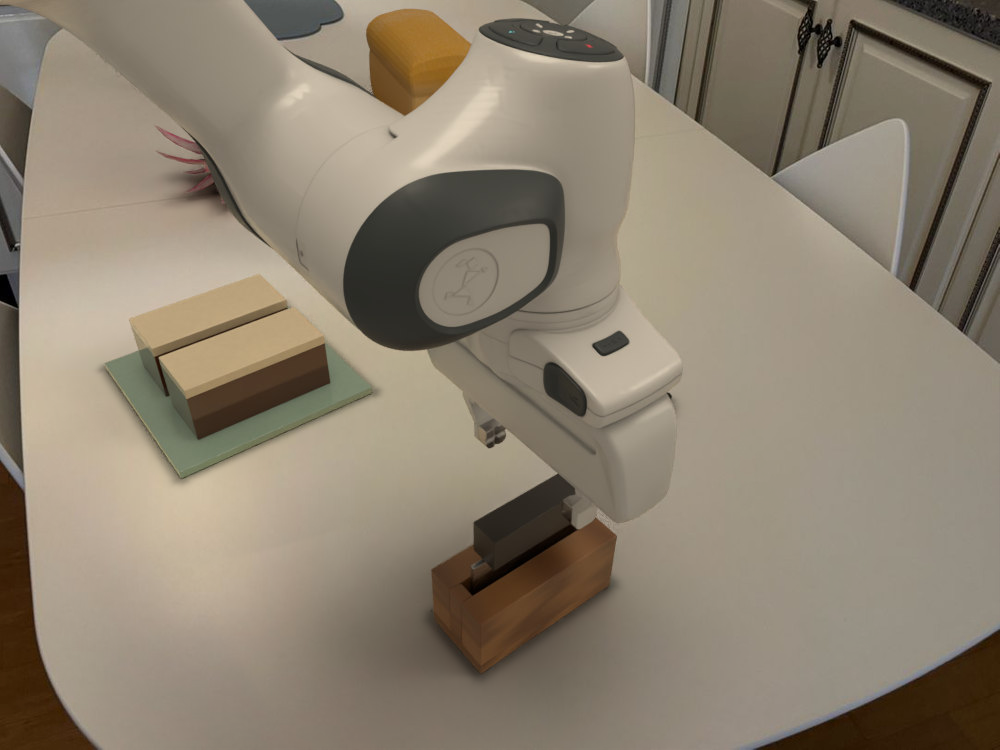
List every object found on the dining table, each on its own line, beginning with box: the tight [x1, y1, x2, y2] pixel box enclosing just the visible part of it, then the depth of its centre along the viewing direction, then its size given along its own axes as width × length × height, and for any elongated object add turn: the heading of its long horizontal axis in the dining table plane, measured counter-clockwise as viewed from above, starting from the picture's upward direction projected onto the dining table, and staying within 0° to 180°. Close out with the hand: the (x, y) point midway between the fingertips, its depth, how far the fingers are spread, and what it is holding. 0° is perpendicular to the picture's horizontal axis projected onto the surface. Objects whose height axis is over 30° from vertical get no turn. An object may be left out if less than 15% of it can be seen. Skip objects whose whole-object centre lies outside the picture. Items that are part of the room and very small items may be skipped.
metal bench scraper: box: [471, 473, 577, 596], centre depth 63 cm, size 10×2×10 cm, turn 128°
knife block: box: [430, 516, 618, 674], centre depth 65 cm, size 13×6×6 cm, turn 128°
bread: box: [365, 8, 472, 116], centre depth 138 cm, size 24×13×15 cm, turn 23°
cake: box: [104, 273, 373, 479], centre depth 86 cm, size 20×20×7 cm
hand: (532, 477), depth 59 cm, fingers open, 8 cm apart
